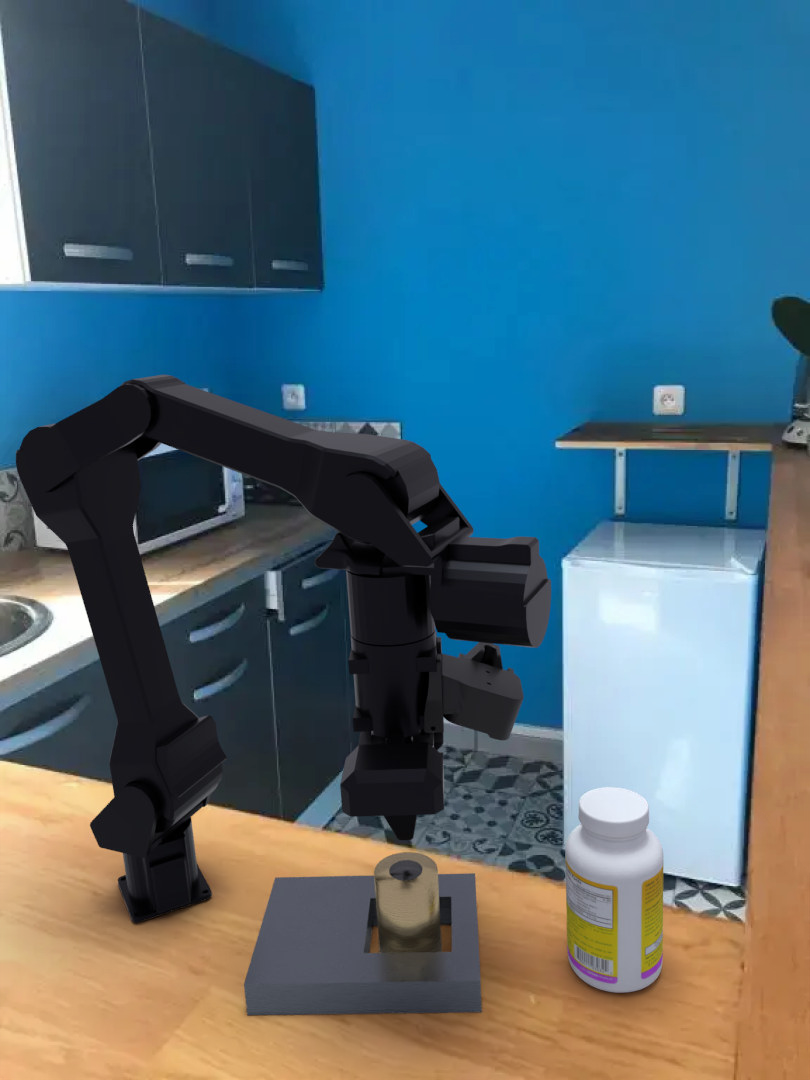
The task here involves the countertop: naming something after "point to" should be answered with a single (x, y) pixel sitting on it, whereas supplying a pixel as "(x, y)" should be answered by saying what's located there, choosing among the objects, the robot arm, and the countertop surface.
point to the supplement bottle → (614, 892)
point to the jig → (358, 953)
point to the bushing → (407, 904)
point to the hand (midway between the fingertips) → (405, 837)
